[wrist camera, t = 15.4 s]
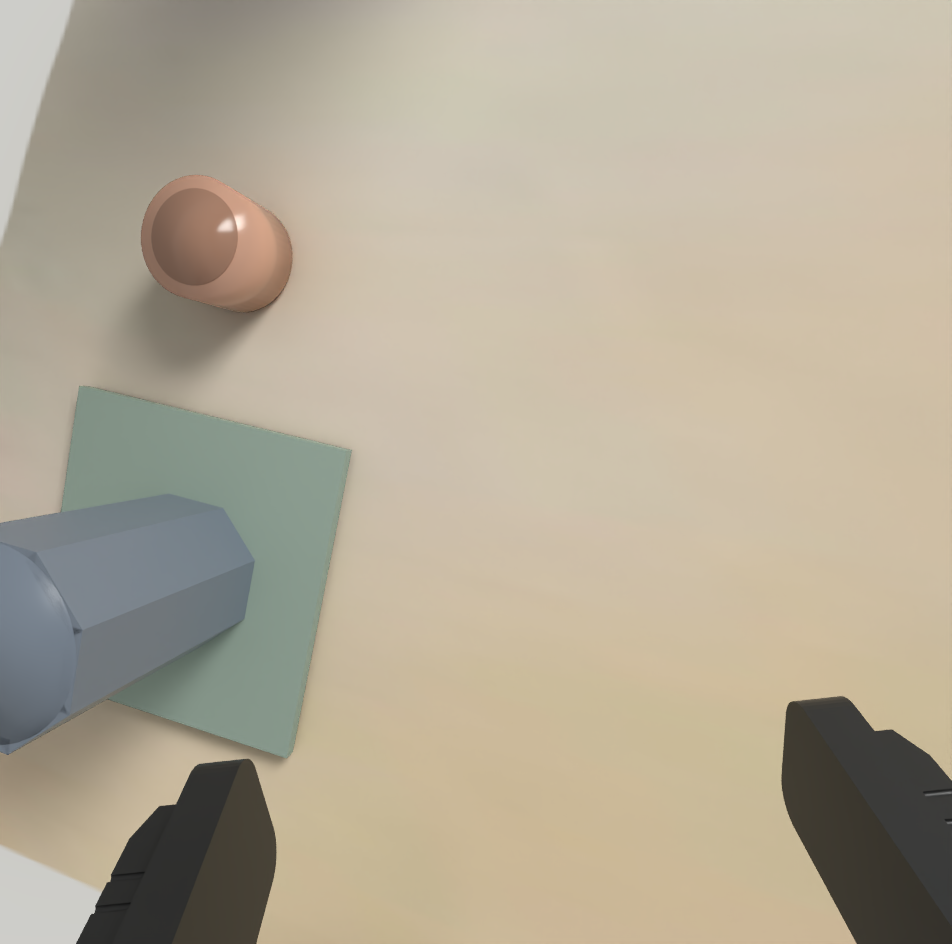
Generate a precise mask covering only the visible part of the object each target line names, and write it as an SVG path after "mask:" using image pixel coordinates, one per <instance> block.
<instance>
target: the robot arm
mask: <svg viewBox="0 0 952 944" xmlns="http://www.w3.org/2000/svg"><path fill="white" fill-rule="evenodd" d="M782 791H783V797H784V801H785V805H786V808H787V811H788V814H789V817H790V819H791V822H792V824H793V826H794V828H795V830H796V832H797V833H798V835H799V837H800V839H801V841H802V843H803V845H804V846H805V848H806V850H807V852H808V854H809V856H810V858H811V859H812V861H813V863H814V865H815V867H816V869H817V871H818V872H819V874H820V876H821V878H822V880H823V882H824V884H825V885H826V887H827V889H828V891H829V893H830V895H831V897H832V898H833V900H834V902H835V904H836V906H837V908H838V910H839V911H840V913H841V915H842V917H843V919H844V921H845V923H846V924H847V926H848V928H849V930H850V932H851V934H852V936H853V937H854V939H855V941H856V943H857V944H952V781H951V780H950V778H949V777H948V776H947V775H946V774H945V772H944V771H943V770H942V769H941V768H940V767H939V765H938V764H937V763H936V762H935V761H934V760H933V758H932V757H931V756H930V755H929V754H927V753H926V752H924V751H923V750H921V749H920V748H918V747H917V746H915V745H914V744H913V743H911V742H910V741H908V740H907V739H905V738H904V737H902V736H901V735H899V734H898V733H896V732H895V731H893V730H883V731H874V730H873V728H872V727H871V726H870V725H869V723H868V722H867V721H866V720H865V718H864V717H863V716H862V714H861V713H860V712H859V711H858V709H857V708H856V707H855V706H854V704H853V703H852V702H851V701H850V700H849V699H847V698H845V697H842V696H839V697H830V698H821V699H811V700H802V701H793V702H790V703H789V705H788V707H787V710H786V721H785V735H784V749H783V763H782ZM275 866H276V838H275V832H274V828H273V825H272V821H271V818H270V815H269V812H268V808H267V805H266V802H265V798H264V795H263V792H262V788H261V785H260V782H259V778H258V775H257V772H256V769H255V766H254V764H253V762H252V761H251V760H250V759H241V760H232V761H222V762H213V763H204V764H198V765H197V766H195V767H194V769H193V770H192V772H191V773H190V775H189V778H188V780H187V782H186V784H185V786H184V788H183V791H182V793H181V795H180V797H179V799H178V801H177V804H176V805H166V806H159V807H158V808H157V809H156V810H155V811H154V813H153V814H152V815H151V816H150V817H149V818H148V819H147V820H146V821H145V822H144V823H143V825H142V826H141V827H140V828H139V829H138V830H137V831H136V832H135V833H134V834H133V835H132V837H131V838H130V839H129V841H128V843H127V845H126V847H125V849H124V851H123V852H122V854H121V856H120V858H119V860H118V862H117V864H116V866H115V868H114V870H113V872H112V874H111V881H110V882H107V884H106V886H105V888H104V890H103V892H102V894H101V896H100V898H99V900H98V902H97V904H96V906H95V907H96V910H95V913H94V914H91V915H90V917H89V920H88V922H87V923H86V925H85V927H84V929H83V931H82V933H81V935H80V937H79V939H78V941H77V943H76V944H256V942H257V938H258V935H259V931H260V927H261V923H262V920H263V916H264V912H265V908H266V905H267V901H268V897H269V893H270V890H271V886H272V882H273V878H274V873H275Z"/></svg>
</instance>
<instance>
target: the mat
mask: <svg viewBox="0 0 952 944" xmlns="http://www.w3.org/2000/svg"><path fill="white" fill-rule="evenodd" d="M351 451H352V450H349V449H345V448H341V447H337V446H333V445H328V444H324V443H320V442H316V441H312V440H308V439H304V438H300V437H295V436H291V435H287V434H283V433H279V432H275V431H271V430H267V429H263V428H258V427H254V426H250V425H246V424H242V423H238V422H234V421H230V420H225V419H221V418H217V417H213V416H209V415H205V414H201V413H197V412H192V411H188V410H184V409H180V408H176V407H172V406H168V405H164V404H160V403H155V402H151V401H147V400H143V399H139V398H135V397H131V396H127V395H122V394H118V393H114V392H110V391H106V390H102V389H98V388H94V387H90V386H79V391H78V398H77V405H76V412H75V419H74V426H73V433H72V439H71V446H70V453H69V460H68V467H67V474H66V481H65V488H64V495H63V502H62V508H61V512H66V511H72V510H77V509H83V508H89V507H95V506H100V505H106V504H112V503H117V502H123V501H129V500H135V499H140V498H146V497H152V496H158V495H163V494H172V495H176V496H180V497H184V498H187V499H191V500H195V501H199V502H203V503H206V504H210V505H214V506H218V507H221V508H223V509H224V510H225V512H226V513H227V515H228V517H229V518H230V520H231V522H232V523H233V525H234V527H235V528H236V530H237V532H238V533H239V535H240V537H241V538H242V540H243V542H244V543H245V545H246V546H247V548H248V550H249V551H250V553H251V555H252V556H253V558H254V560H255V563H254V569H253V574H252V580H251V585H250V591H249V596H248V602H247V608H246V613H245V619H243V620H242V621H240V622H239V623H237V624H235V625H234V626H232V627H231V628H229V629H227V630H226V631H224V632H223V633H221V634H220V635H218V636H216V637H215V638H213V639H212V640H210V641H209V642H207V643H205V644H204V645H202V646H201V647H199V648H197V649H196V650H194V651H192V652H190V653H189V654H187V655H185V656H183V657H181V658H180V659H178V660H176V661H174V662H172V663H171V664H169V665H167V666H165V667H164V668H162V669H160V670H158V671H156V672H155V673H153V674H151V675H149V676H148V677H146V678H144V679H142V680H140V681H139V682H137V683H135V684H133V685H131V686H130V687H128V688H126V689H124V690H123V691H121V692H119V693H117V694H115V695H114V696H112V697H110V698H108V700H111V701H114V702H117V703H120V704H123V705H126V706H129V707H132V708H135V709H139V710H142V711H145V712H148V713H151V714H154V715H157V716H160V717H163V718H166V719H169V720H172V721H175V722H178V723H181V724H184V725H187V726H190V727H193V728H196V729H199V730H202V731H205V732H208V733H211V734H214V735H217V736H220V737H223V738H226V739H229V740H232V741H235V742H238V743H241V744H244V745H247V746H250V747H253V748H256V749H260V750H263V751H266V752H269V753H272V754H275V755H278V756H281V757H284V758H287V757H288V756H289V755H290V754H291V753H292V752H293V748H294V743H295V738H296V733H297V727H298V722H299V717H300V712H301V707H302V702H303V697H304V692H305V687H306V681H307V676H308V671H309V666H310V661H311V656H312V651H313V646H314V640H315V635H316V630H317V625H318V620H319V615H320V610H321V605H322V600H323V594H324V589H325V584H326V579H327V574H328V569H329V564H330V559H331V554H332V548H333V543H334V538H335V533H336V528H337V523H338V518H339V513H340V508H341V502H342V497H343V492H344V487H345V482H346V477H347V472H348V467H349V461H350V456H351Z"/></svg>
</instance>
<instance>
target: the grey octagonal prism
mask: <svg viewBox="0 0 952 944" xmlns="http://www.w3.org/2000/svg"><path fill="white" fill-rule="evenodd" d="M254 563H255V560H254V558H253V556H252V555H251V553H250V551H249V550H248V548H247V546H246V545H245V543H244V542H243V540H242V538H241V537H240V535H239V533H238V532H237V530H236V528H235V527H234V525H233V523H232V522H231V520H230V518H229V517H228V515H227V513H226V512H225V510H224V509H223V508H221V507H218V506H214V505H210V504H206V503H203V502H199V501H195V500H191V499H187V498H184V497H180V496H176V495H172V494H163V495H158V496H152V497H146V498H140V499H135V500H129V501H123V502H117V503H112V504H106V505H100V506H95V507H89V508H83V509H77V510H72V511H66V512H60V513H54V514H49V515H43V516H37V517H31V518H26V519H20V520H14V521H9V522H3V523H0V752H1V753H4V754H7V755H9V754H10V753H12V752H14V751H16V750H17V749H19V748H21V747H23V746H25V745H26V744H28V743H30V742H32V741H33V740H35V739H37V738H39V737H41V736H42V735H44V734H46V733H48V732H50V731H51V730H53V729H55V728H57V727H58V726H60V725H62V724H64V723H66V722H67V721H69V720H71V719H73V718H74V717H76V716H78V715H80V714H82V713H83V712H85V711H87V710H89V709H91V708H92V707H94V706H96V705H98V704H99V703H101V702H103V701H105V700H107V699H108V698H110V697H112V696H114V695H115V694H117V693H119V692H121V691H123V690H124V689H126V688H128V687H130V686H131V685H133V684H135V683H137V682H139V681H140V680H142V679H144V678H146V677H148V676H149V675H151V674H153V673H155V672H156V671H158V670H160V669H162V668H164V667H165V666H167V665H169V664H171V663H172V662H174V661H176V660H178V659H180V658H181V657H183V656H185V655H187V654H189V653H190V652H192V651H194V650H196V649H197V648H199V647H201V646H202V645H204V644H205V643H207V642H209V641H210V640H212V639H213V638H215V637H216V636H218V635H220V634H221V633H223V632H224V631H226V630H227V629H229V628H231V627H232V626H234V625H235V624H237V623H239V622H240V621H242V620H243V619H245V613H246V608H247V602H248V596H249V591H250V585H251V580H252V574H253V569H254Z"/></svg>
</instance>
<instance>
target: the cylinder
mask: <svg viewBox="0 0 952 944" xmlns="http://www.w3.org/2000/svg"><path fill="white" fill-rule="evenodd" d="M141 245H142V252H143V256H144V259H145V262H146V265H147V267H148V269H149V271H150V272H151V274H152V275H153V277H154V278H155V279H156V280H157V282H158V283H159V284H160V285H161V286H163V287H164V288H165V289H166V290H168V291H170V292H171V293H173V294H175V295H178V296H181V297H184V298H188V299H191V300H195V301H198V302H202V303H206V304H209V305H213V306H216V307H220V308H224V309H227V310H231V311H235V312H250V311H255V310H258V309H260V308H263V307H265V306H266V305H268V304H269V303H271V302H272V301H273V300H274V299H275V298H276V297H277V296H278V295H279V294H280V293H281V291H282V290H283V288H284V287H285V285H286V283H287V281H288V278H289V275H290V272H291V267H292V247H291V242H290V239H289V236H288V233H287V231H286V229H285V227H284V226H283V224H282V223H281V222H280V220H279V219H278V218H277V217H276V216H275V215H274V214H273V213H271V212H270V211H269V210H267V209H265V208H264V207H262V206H260V205H259V204H257V203H255V202H254V201H252V200H250V199H249V198H247V197H245V196H244V195H242V194H240V193H239V192H237V191H235V190H234V189H232V188H230V187H229V186H227V185H225V184H224V183H222V182H220V181H219V180H216V179H214V178H212V177H208V176H203V175H189V176H184V177H181V178H178V179H176V180H174V181H172V182H170V183H169V184H167V185H166V186H164V187H163V188H162V189H161V190H160V191H159V192H158V193H157V194H156V196H155V197H154V198H153V200H152V201H151V203H150V204H149V206H148V208H147V211H146V213H145V216H144V219H143V224H142V230H141Z"/></svg>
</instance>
